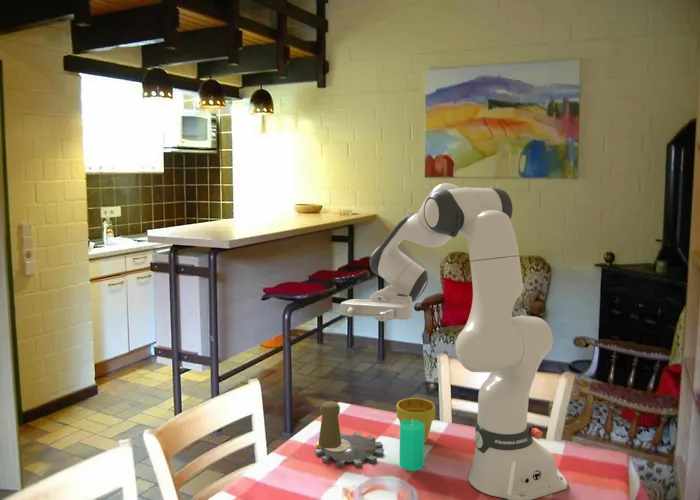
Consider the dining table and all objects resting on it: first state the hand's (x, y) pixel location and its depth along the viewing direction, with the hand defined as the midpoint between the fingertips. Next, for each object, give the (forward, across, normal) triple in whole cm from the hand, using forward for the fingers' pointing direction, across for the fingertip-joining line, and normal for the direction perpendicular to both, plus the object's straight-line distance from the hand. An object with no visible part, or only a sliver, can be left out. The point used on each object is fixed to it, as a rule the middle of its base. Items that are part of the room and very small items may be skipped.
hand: (366, 314), depth 161 cm
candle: (+11, +16, +35) cm, 40 cm away
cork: (+11, -7, +33) cm, 35 cm away
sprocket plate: (+10, -1, +34) cm, 35 cm away
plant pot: (-3, +12, +34) cm, 37 cm away
